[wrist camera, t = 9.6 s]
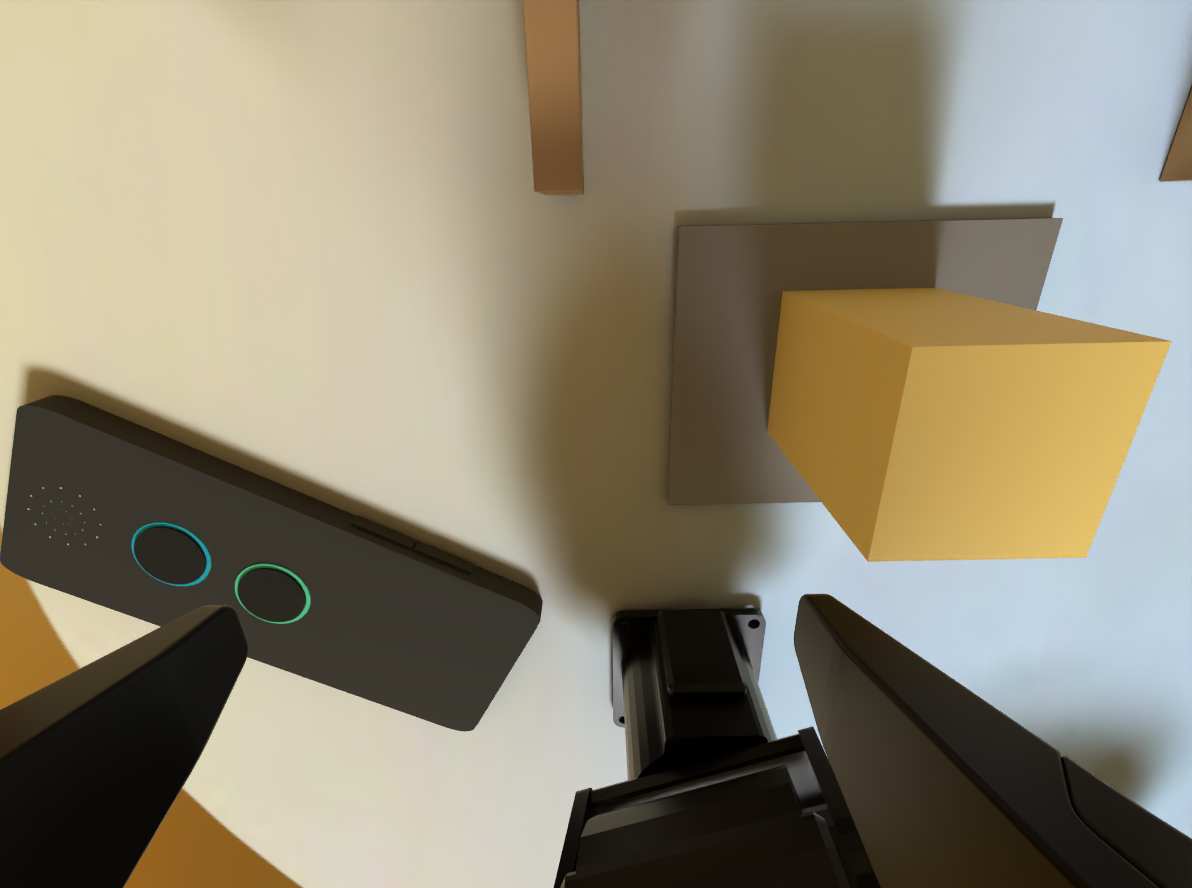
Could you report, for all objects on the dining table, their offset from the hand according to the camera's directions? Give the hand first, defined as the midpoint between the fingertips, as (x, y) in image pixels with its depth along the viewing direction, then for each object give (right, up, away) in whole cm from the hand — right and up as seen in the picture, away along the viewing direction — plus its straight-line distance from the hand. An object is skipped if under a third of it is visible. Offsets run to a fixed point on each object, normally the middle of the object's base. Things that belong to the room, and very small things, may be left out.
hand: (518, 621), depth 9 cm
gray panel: (+10, +5, +11) cm, 16 cm away
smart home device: (-12, -2, +15) cm, 19 cm away
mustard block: (+10, +6, +10) cm, 15 cm away
